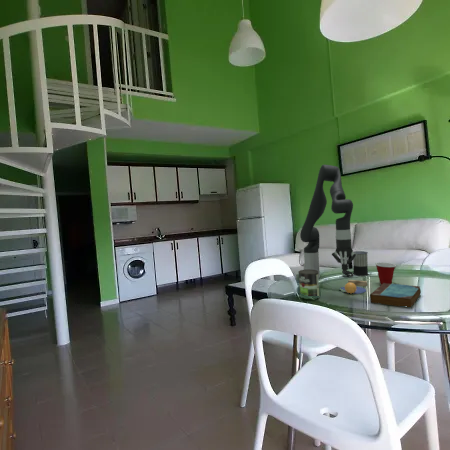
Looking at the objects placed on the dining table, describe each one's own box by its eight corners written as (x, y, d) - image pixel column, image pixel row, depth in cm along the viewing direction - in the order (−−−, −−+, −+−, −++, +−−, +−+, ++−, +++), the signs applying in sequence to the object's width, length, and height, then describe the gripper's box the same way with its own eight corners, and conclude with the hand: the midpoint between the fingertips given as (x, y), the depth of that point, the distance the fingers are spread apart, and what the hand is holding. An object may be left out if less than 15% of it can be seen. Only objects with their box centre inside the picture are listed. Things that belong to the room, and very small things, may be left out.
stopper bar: (348, 284, 192) (348, 280, 191) (349, 283, 193) (349, 279, 193) (366, 286, 186) (366, 282, 186) (367, 285, 187) (366, 281, 187)
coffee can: (311, 301, 166) (310, 274, 165) (295, 297, 174) (294, 271, 173) (323, 296, 172) (322, 270, 171) (308, 293, 181) (306, 268, 180)
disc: (335, 292, 179) (335, 291, 179) (343, 285, 190) (343, 285, 190) (362, 294, 171) (362, 294, 171) (368, 288, 182) (368, 287, 182)
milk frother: (370, 273, 214) (369, 251, 212) (362, 279, 202) (361, 255, 201) (348, 271, 223) (347, 250, 222) (340, 276, 211) (338, 254, 210)
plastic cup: (399, 286, 180) (398, 265, 180) (378, 287, 183) (377, 266, 182) (393, 281, 191) (392, 261, 190) (373, 282, 193) (373, 262, 192)
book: (383, 291, 176) (383, 282, 175) (421, 296, 164) (420, 286, 164) (370, 303, 158) (370, 293, 158) (411, 309, 147) (411, 298, 147)
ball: (344, 279, 176) (348, 284, 180) (341, 289, 174) (345, 294, 177) (355, 281, 172) (359, 286, 175) (352, 291, 170) (356, 296, 173)
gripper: (358, 237, 168) (360, 270, 169) (333, 237, 176) (334, 268, 177) (354, 239, 162) (356, 273, 163) (328, 238, 170) (330, 271, 171)
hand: (345, 270), depth 170 cm, fingers closed
